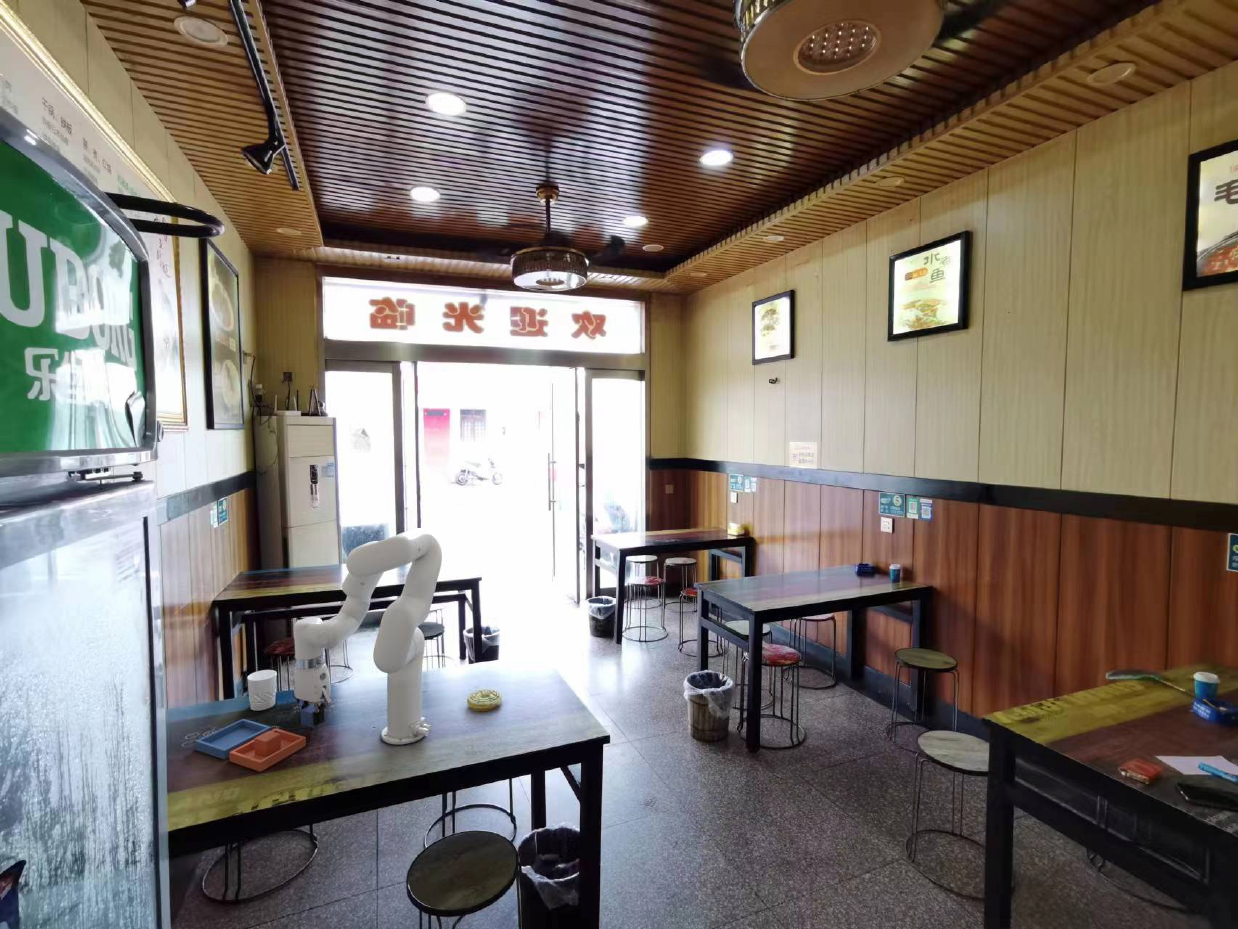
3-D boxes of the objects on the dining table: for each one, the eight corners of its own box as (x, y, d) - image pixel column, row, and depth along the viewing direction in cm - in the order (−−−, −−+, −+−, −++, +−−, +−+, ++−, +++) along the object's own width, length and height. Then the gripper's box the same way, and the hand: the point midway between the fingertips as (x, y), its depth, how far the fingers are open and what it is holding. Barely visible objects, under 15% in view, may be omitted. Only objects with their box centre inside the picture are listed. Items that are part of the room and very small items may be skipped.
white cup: (282, 703, 189) (282, 672, 189) (258, 714, 182) (258, 682, 181) (266, 698, 193) (265, 668, 192) (242, 708, 185) (241, 677, 185)
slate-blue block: (324, 720, 175) (324, 706, 175) (312, 727, 171) (311, 712, 171) (313, 717, 177) (313, 703, 177) (301, 724, 173) (300, 710, 173)
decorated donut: (506, 708, 190) (507, 696, 189) (474, 716, 184) (474, 704, 183) (494, 695, 198) (494, 684, 198) (462, 703, 192) (463, 691, 192)
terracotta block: (281, 749, 162) (280, 733, 162) (266, 757, 158) (265, 741, 158) (269, 746, 164) (269, 730, 163) (254, 754, 160) (254, 738, 159)
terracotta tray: (305, 745, 165) (305, 737, 165) (260, 771, 153) (260, 762, 152) (276, 736, 169) (276, 728, 169) (229, 761, 157) (229, 752, 157)
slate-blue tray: (271, 735, 170) (271, 726, 170) (224, 759, 158) (224, 750, 157) (243, 726, 174) (243, 718, 174) (195, 749, 162) (195, 741, 162)
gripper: (342, 660, 173) (344, 721, 174) (300, 652, 180) (303, 711, 181) (320, 670, 166) (323, 733, 168) (277, 661, 173) (280, 722, 174)
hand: (312, 721), depth 174 cm, fingers closed on slate-blue block, 4 cm apart
